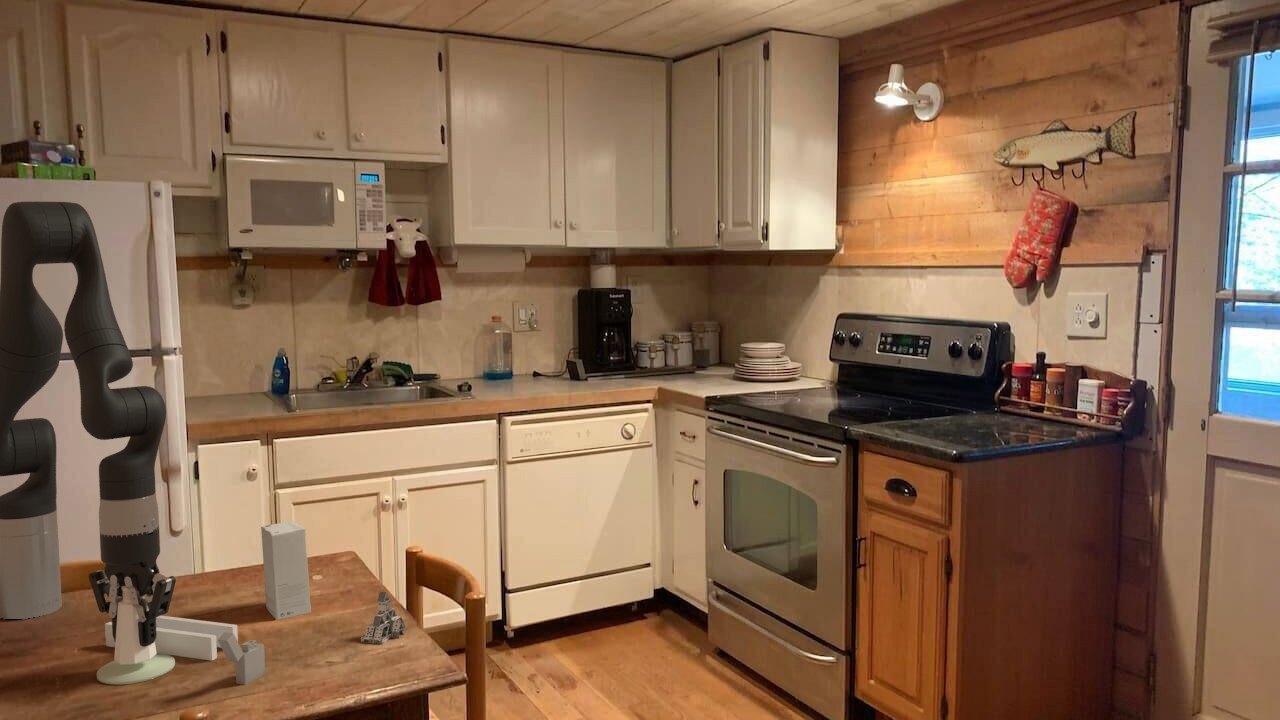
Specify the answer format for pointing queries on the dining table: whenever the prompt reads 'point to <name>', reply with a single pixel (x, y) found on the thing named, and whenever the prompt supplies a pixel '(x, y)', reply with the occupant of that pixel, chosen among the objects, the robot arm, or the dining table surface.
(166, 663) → the pad
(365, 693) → the dining table surface
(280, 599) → the skincare box
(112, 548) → the robot arm
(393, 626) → the house of cards
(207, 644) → the low walls
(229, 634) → the lighter
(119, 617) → the pepper shaker
